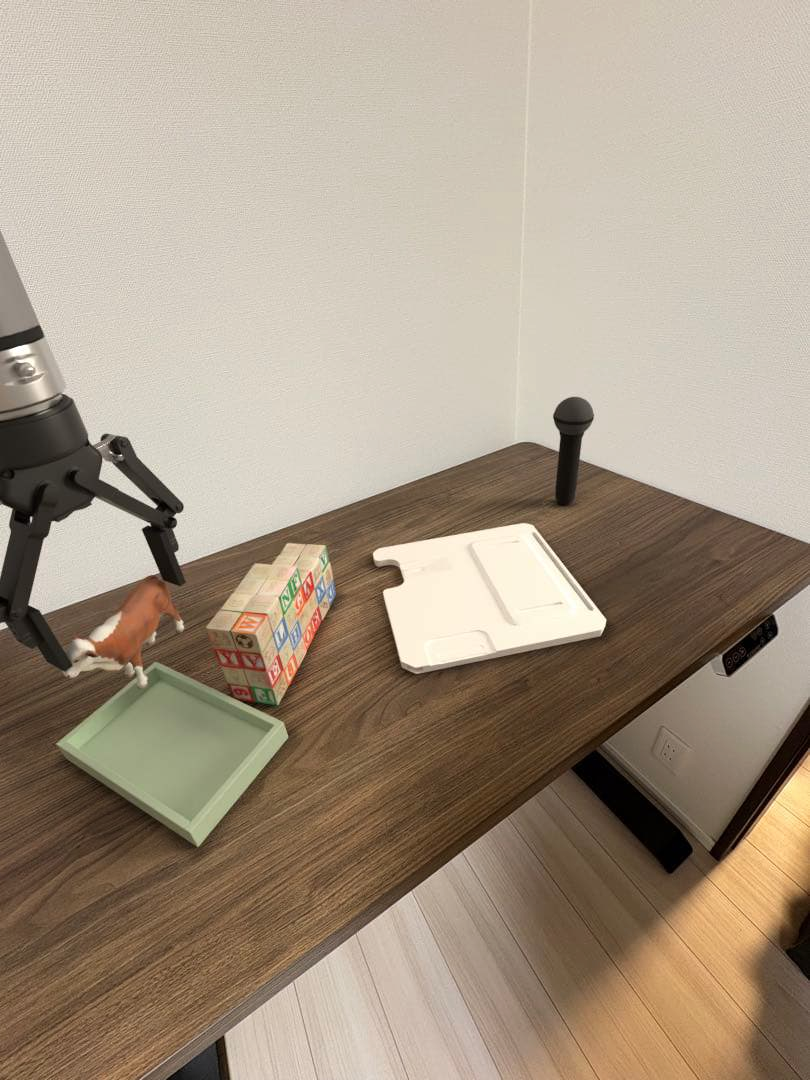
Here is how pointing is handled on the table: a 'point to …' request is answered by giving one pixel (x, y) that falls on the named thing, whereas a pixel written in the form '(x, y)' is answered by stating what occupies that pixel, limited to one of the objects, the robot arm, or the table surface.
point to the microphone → (570, 444)
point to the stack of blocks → (272, 622)
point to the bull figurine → (125, 633)
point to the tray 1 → (175, 749)
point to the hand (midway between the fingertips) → (122, 619)
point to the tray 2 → (483, 598)
